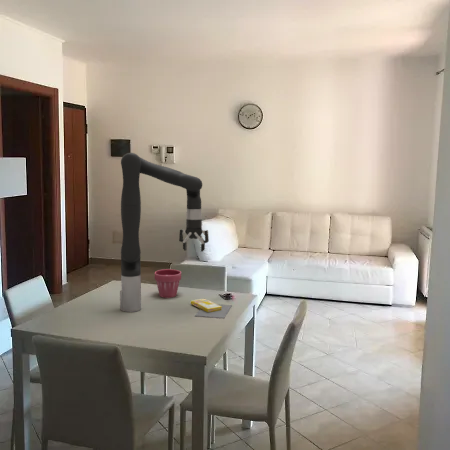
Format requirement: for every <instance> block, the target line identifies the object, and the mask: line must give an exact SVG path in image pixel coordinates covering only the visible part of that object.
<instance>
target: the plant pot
mask: <svg viewBox="0 0 450 450" xmlns="http://www.w3.org/2000/svg"><path fill="white" fill-rule="evenodd" d="M181 280H182V271H181V270H178V269H174V268H173V269H172V268H166V269H165V268H163V269H158V270H156V271H155V272H154V281H156V286H157V287H156V288H157V290H158V291H157V292H158V296H159V297H161V298H163V299H164V298H166V299H169V298H174V297H176V296H177V294H178V290H179V285H180V281H181Z"/></svg>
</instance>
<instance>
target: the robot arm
mask: <svg viewBox="0 0 450 450" xmlns="http://www.w3.org/2000/svg"><path fill="white" fill-rule="evenodd" d="M120 165H121V170H122V172H121V173H122V190H121V198H120V217H121V218H120V219H121V227H122V242H121V243H122V244H121V247H120V275H121V276H120V277H121V279H120V280H121V281H120V282H121V290H119V309H120V311H123V312H126V313H134V312H139V311H141V310H142V277H141V275H142V274H141V273H142V271H141V268H142V267H141V266H142V265H141V253H142V252H141V247H140V246H141V245H140V238H139V236H140V233H139V231H140V226H141V225H140V224H141V214H142V200H141V191H140V174H143V175H146V176H149V177H152V178H154V179H157V180H159V181H161V182H164V183H167V184H170V185H174V186H176V187H179V188H182V189H185V191H186V211H185V212H186V213H185V221H186V222H185V223H186V224H185V226H186V227H185V229H183V228H180V230H179V239H178V240H179V243H180V242H181V243H182V249H183V251H187V249H188V248H187V246H188V245H187V244H188V243H187V241H189V239H190V240H191V239H193V240H198V241H200V243H201V244H200V252H204V251H205V250H206V249H205V248H206V245H205V244H208V242H209V240H210V238H209V230H208V229H206V230H203V229H202V228H203V227H202V226H203V225H202V224H203V223H202V221H203V213H202V198H201V189H202V188H203V182H202V181H203V180H201V179H200V177H197V176H193V175H190V174H187V173H185V172H181V171H179V170H177V169H174V168H170V167H167V166H164V165H160V164H157V163H153V162H151V161H148V160H146V159H144V158H143V157H140V156H139V155H138V154H137V153H135V152H127V153H125V154H124V155H123V156H122V157H121V159H120ZM184 234H186V236H185V238H184ZM202 234H203V235H204V237H203V236H202Z"/></svg>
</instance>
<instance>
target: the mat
mask: <svg viewBox="0 0 450 450" xmlns="http://www.w3.org/2000/svg"><path fill="white" fill-rule="evenodd" d="M216 304H217V303H216ZM217 305H219V306H221V307H222V310H218V311H212V312H206V311H204V310H202V309H200V308H199V310H198V311H197V312H196V314H194V317H201V318H210V319H211V318H215V319H225V317H227V315H228V313H229V311H230V310H231V308H232V306H233V305H232V304H220V303H219V304H217Z"/></svg>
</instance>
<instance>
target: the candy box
mask: <svg viewBox="0 0 450 450" xmlns="http://www.w3.org/2000/svg"><path fill="white" fill-rule="evenodd" d="M190 305H193V306H194V307H197V308H198V309H199V310H200V309H202V310H204V311H206V312H212V311H218V310H222V307H221V306H219V305H217V303H215V302H213V301H210V300H208V299H205V298H199V299H194V300H190Z"/></svg>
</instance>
